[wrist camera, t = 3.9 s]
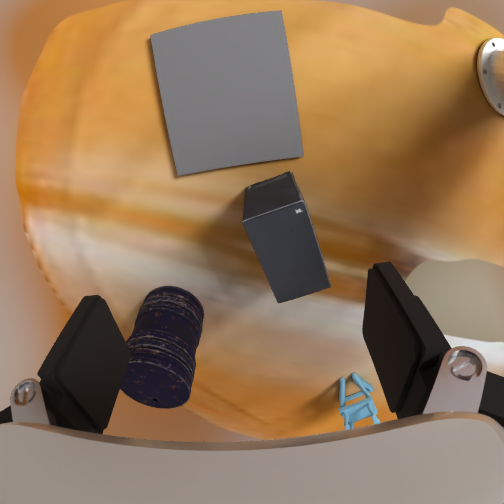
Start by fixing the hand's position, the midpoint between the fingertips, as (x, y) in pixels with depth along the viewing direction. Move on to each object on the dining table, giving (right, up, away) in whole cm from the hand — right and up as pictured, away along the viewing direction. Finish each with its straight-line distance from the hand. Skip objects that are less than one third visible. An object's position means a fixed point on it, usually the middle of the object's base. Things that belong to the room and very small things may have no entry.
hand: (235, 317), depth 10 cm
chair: (+21, -25, +46) cm, 56 cm away
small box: (+4, +7, +29) cm, 30 cm away
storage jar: (-12, -7, +36) cm, 39 cm away
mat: (-2, +20, +21) cm, 30 cm away
